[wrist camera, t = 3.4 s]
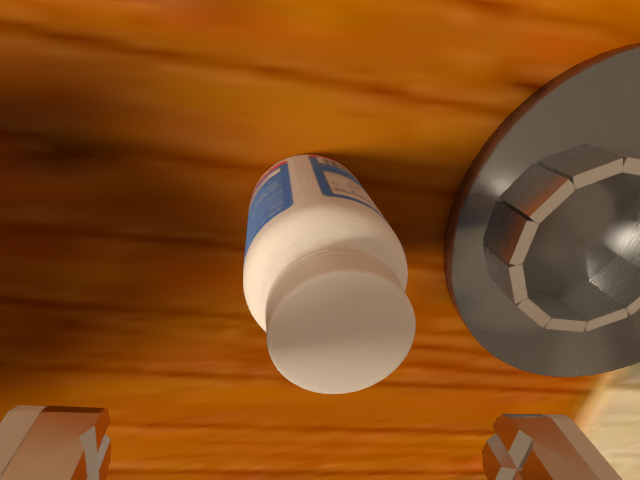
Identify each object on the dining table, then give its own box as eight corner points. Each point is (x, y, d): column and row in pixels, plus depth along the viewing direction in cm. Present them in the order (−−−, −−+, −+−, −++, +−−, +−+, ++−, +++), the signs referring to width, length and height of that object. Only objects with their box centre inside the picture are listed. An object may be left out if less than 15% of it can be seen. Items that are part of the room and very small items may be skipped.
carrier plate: (857, 79, 20) (977, 85, 16) (666, 371, 27) (722, 417, 24) (518, 0, 17) (579, -12, 13) (405, 352, 24) (426, 401, 21)
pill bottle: (267, 270, 21) (263, 433, 12) (235, 167, 18) (201, 277, 10) (373, 244, 21) (447, 388, 12) (354, 139, 18) (430, 222, 10)
